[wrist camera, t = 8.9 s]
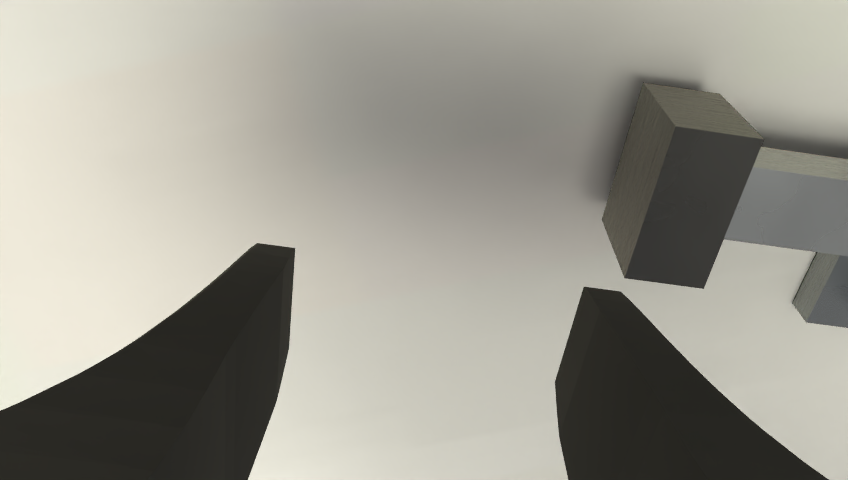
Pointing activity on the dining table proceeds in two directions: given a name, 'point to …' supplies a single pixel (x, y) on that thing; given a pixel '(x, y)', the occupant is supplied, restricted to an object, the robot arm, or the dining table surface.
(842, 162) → the slide jaw
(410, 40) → the dining table surface
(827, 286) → the vise
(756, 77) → the dining table surface
